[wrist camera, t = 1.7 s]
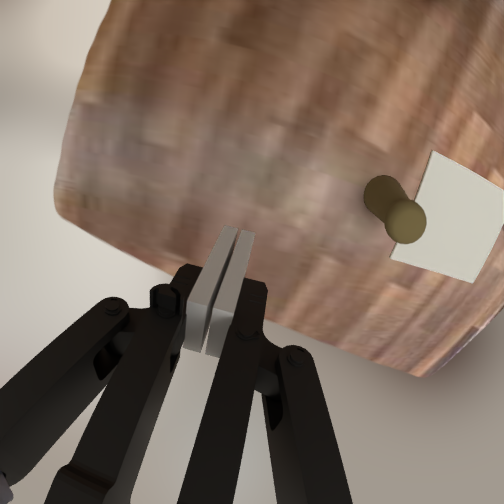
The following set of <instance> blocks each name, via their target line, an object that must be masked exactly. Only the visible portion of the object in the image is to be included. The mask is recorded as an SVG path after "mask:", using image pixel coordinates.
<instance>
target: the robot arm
mask: <svg viewBox="0 0 504 504" xmlns="http://www.w3.org/2000/svg"><path fill="white" fill-rule="evenodd" d="M237 232H238V228H235V227H231V226H227V225H225V226H224V227H223V229H222V231H221V233H220V235H219V237H218V239H217V241H216V243H215V245H214V247H213V249H212V251H211V253H210V255H209V257H208V259H207V261H206V263H205V265H204V267H199V266H195V265H191V264H188V263H187V264H185V265H184V266H182V267H180V268H179V269H178V271H177V273H176V274H175V276H174V278H173V280H172V281H171V283H170V284H159V285H156V286H154V287H153V288H152V289H151V290H150V307H149V308H143V309H138V308H129V306H128V304H127V302H126V301H125V300H123V299H121V298H118V297H109V298H105V299H103V300H101V301H100V302H99V303H97V304H96V305H95V306H94V307H92V308H91V309H90V310H89V311H88V312H86V313H85V314H84V315H83V316H82V317H80V318H79V319H78V320H77V321H76V322H74V324H72V325H71V326H70V327H68V328H67V330H65V331H64V332H63V333H61V334H60V335H59V336H58V337H57V338H56V339H55V340H53V341H52V342H51V343H50V344H49V345H48V346H46V347H45V348H44V349H43V350H42V351H41V352H40V353H39V354H37V355H36V356H35V357H34V358H33V359H32V360H31V361H30V362H29V363H27V364H26V366H24V367H23V368H22V369H21V370H20V371H19V372H18V373H17V374H16V375H14V377H13V378H11V379H10V380H9V381H8V382H7V383H6V384H5V385H4V386H3V387H2V388H1V389H0V504H7V503H8V502H10V501H12V500H13V493H12V491H11V489H10V488H9V487H10V486H12V485H14V484H16V483H17V482H19V481H20V480H21V479H23V478H24V477H25V476H26V475H27V474H28V473H29V472H30V471H31V470H32V469H33V468H34V467H35V465H36V464H37V463H38V462H39V461H40V460H41V459H42V457H43V456H44V455H45V454H46V453H47V451H48V450H49V449H50V448H51V447H52V446H53V445H54V444H55V442H56V441H57V440H58V439H59V438H60V437H61V436H62V434H63V433H64V432H65V431H66V430H67V429H68V428H69V427H70V425H71V424H72V423H73V422H74V421H75V420H76V419H77V417H78V416H79V415H80V414H81V413H82V412H83V411H84V410H85V408H86V407H87V406H88V405H89V404H90V403H91V402H92V401H93V399H94V398H95V397H96V396H97V395H98V394H99V393H100V392H101V391H102V389H103V388H104V387H105V386H106V385H107V386H106V388H105V390H104V392H103V394H102V396H101V398H100V400H99V402H98V404H97V406H96V408H95V410H94V412H93V414H92V416H91V418H90V421H89V423H88V425H87V427H86V429H85V431H84V433H83V435H82V437H81V440H80V442H79V444H78V446H77V448H76V451H75V453H74V455H73V457H72V460H71V461H70V462H69V464H67V465H65V466H63V467H61V468H60V469H59V470H58V472H57V474H56V476H55V478H54V480H53V482H52V485H51V488H50V490H49V492H48V495H47V498H46V500H45V502H44V504H130V498H131V494H132V491H133V488H134V485H135V482H136V479H137V476H138V473H139V470H140V467H141V463H142V461H143V458H144V455H145V452H146V449H147V446H148V443H149V440H150V437H151V434H152V432H153V429H154V426H155V423H156V420H157V418H158V415H159V412H160V409H161V406H162V404H163V401H164V398H165V395H166V393H167V390H168V387H169V385H170V382H171V379H172V377H173V374H174V371H175V369H176V366H177V363H178V361H179V358H180V349H181V346H182V344H183V348H186V349H189V350H193V351H196V352H201V349H202V347H203V344H204V341H205V338H206V335H207V332H208V329H209V326H210V329H209V335H208V341H207V347H206V354H207V355H211V356H215V357H218V358H220V359H219V362H218V366H217V369H216V372H215V376H214V379H213V383H212V386H211V389H210V393H209V396H208V399H207V403H206V406H205V410H204V413H203V417H202V420H201V423H200V427H199V430H198V433H197V437H196V440H195V444H194V447H193V450H192V454H191V457H190V461H189V464H188V467H187V471H186V474H185V478H184V481H183V484H182V488H181V491H180V495H179V498H178V501H177V504H233V499H234V495H235V489H236V485H237V480H238V475H239V470H240V465H241V459H242V454H243V449H244V444H245V438H246V433H247V427H248V422H249V417H250V411H251V406H252V400H253V394H254V390H256V391H258V392H260V393H262V402H263V409H264V416H265V423H266V430H267V437H268V445H269V451H270V458H271V465H272V472H273V479H274V486H275V493H276V499H277V504H353V503H352V499H351V495H350V491H349V487H348V483H347V479H346V475H345V471H344V467H343V463H342V460H341V456H340V452H339V448H338V444H337V441H336V438H335V434H334V430H333V426H332V423H331V419H330V416H329V412H328V408H327V405H326V401H325V398H324V394H323V391H322V387H321V384H320V380H319V377H318V373H317V370H316V367H315V363H314V360H313V357H312V356H311V354H310V353H309V352H308V351H307V350H306V349H304V348H302V347H300V346H296V345H289V346H286V347H284V348H280V347H278V346H276V345H274V344H273V343H271V342H270V341H269V340H268V339H267V338H266V337H265V335H264V333H263V321H264V314H265V307H266V300H267V293H268V290H267V287H266V285H265V283H264V282H260V281H256V280H252V279H248V278H244V277H245V273H246V269H247V265H248V261H249V257H250V253H251V249H252V245H253V241H254V237H255V232H251V231H247V230H243V229H242V231H241V233H240V236H239V239H238V241H237V244H236V247H235V249H234V246H235V241H236V236H237ZM233 250H234V252H233ZM183 342H184V343H183Z"/></svg>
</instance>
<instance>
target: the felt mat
mask: <svg viewBox="0 0 504 504" xmlns="http://www.w3.org/2000/svg"><path fill="white" fill-rule="evenodd" d="M414 201H415V202H416V203H418V204H419V205H420V206H421V207H422V208H423V210H424V212H425V215H426V218H427V225H426V228H425V232H424V233H423V235H422V237H421V238H419V239H418V240H417V241H415V242H414V243H410V244H400V243H397V242H396V244H395V246H394V249H393V251H392V253H391V255H390V257H389V258H390V259H393V260H397V261H400V262H403V263H407V264H410V265H414V266H417V267H421V268H424V269H427V270H431V271H434V272H437V273H441V274H444V275H447V276H450V277H454V278H457V279H460V280H463V281H467V282H470V283H473V282H474V281H475V279H476V277H477V275H478V274H479V272H480V270H481V268H482V266H483V265H484V263H485V261H486V259H487V257H488V255H489V253H490V251H491V249H492V247H493V245H494V243H495V241H496V239H497V237H498V235H499V233H500V230H501V228H502V226H503V224H504V190H502V189H501V188H499V187H498V186H496V185H494V184H493V183H491V182H490V181H488V180H486V179H485V178H483V177H481V176H480V175H478V174H476V173H474V172H473V171H471V170H469V169H467V168H466V167H464V166H462V165H460V164H458V163H456V162H455V161H453V160H451V159H449V158H447V157H445V156H443V155H441V154H439V153H437V152H435V151H433V150H432V151H431V155H430V158H429V161H428V164H427V167H426V169H425V172H424V175H423V178H422V181H421V183H420V186H419V189H418V191H417V194H416V197H415V199H414Z"/></svg>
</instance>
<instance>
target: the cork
mask: <svg viewBox="0 0 504 504" xmlns="http://www.w3.org/2000/svg"><path fill="white" fill-rule="evenodd" d="M364 202H365V205H366V206H367V208H368V209H369V210H370V211H371V212H372V213H373V214H374V215H375V216H377V217H378V218H379V219H380V220H381V221H382V222H383V223H385V229H386V231H387V234H388V235H389V236H390V237H391V239H392V240H394V241H395V242H397V243H400V244H410V243H414V242H415V241H417V240H418V239H419V238H421V237H422V235H423V233H424V232H425V228H426V225H427V218H426V215H425V212H424V210H423V208H422V207H421V206H420V205H419V204H418V203H416V202H415V201H413V200H410V199H409V198H408V196H407V195H406V193H405V191H404V190H403V188H402V187H401V185H400V184H399V183H398V182H397V180H396V179H394V178H392V177H390V176H386V175H382V176H377V177H375V178H374V179H372V180H371V181H370V182H369V183H368V184H367V186H366V188H365V191H364Z"/></svg>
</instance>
